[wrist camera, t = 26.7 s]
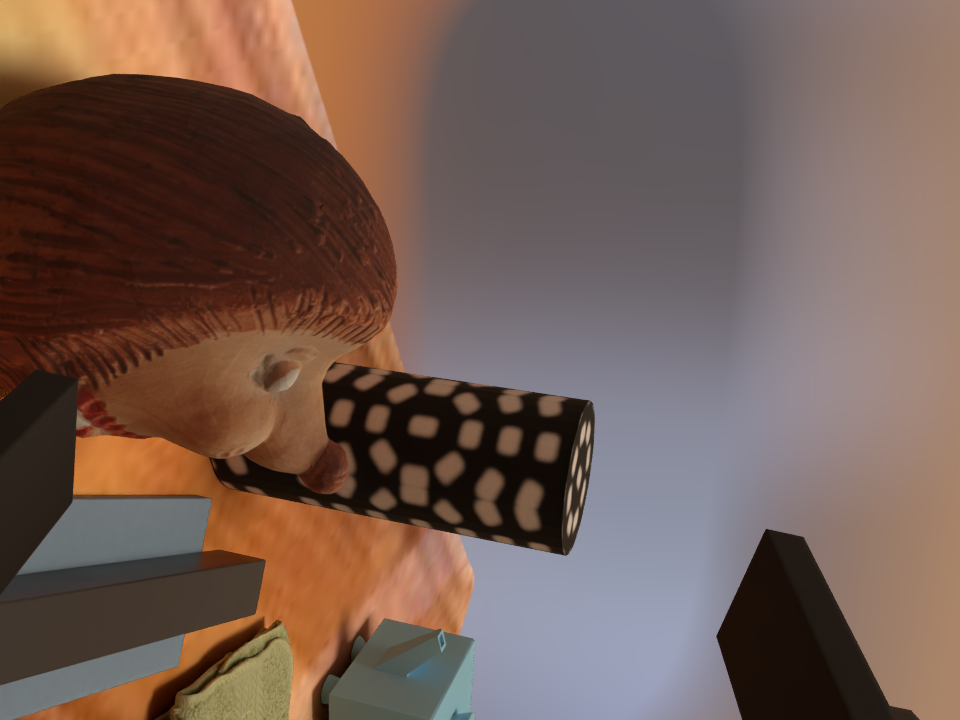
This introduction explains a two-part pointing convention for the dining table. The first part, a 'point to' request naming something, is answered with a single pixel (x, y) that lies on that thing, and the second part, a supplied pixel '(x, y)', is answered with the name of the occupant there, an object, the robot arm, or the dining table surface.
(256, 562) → the bar
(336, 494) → the white-spotted black cylinder
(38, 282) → the figurine
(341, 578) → the dining table surface
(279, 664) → the washcloth
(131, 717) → the dining table surface
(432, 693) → the teapot
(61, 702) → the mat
